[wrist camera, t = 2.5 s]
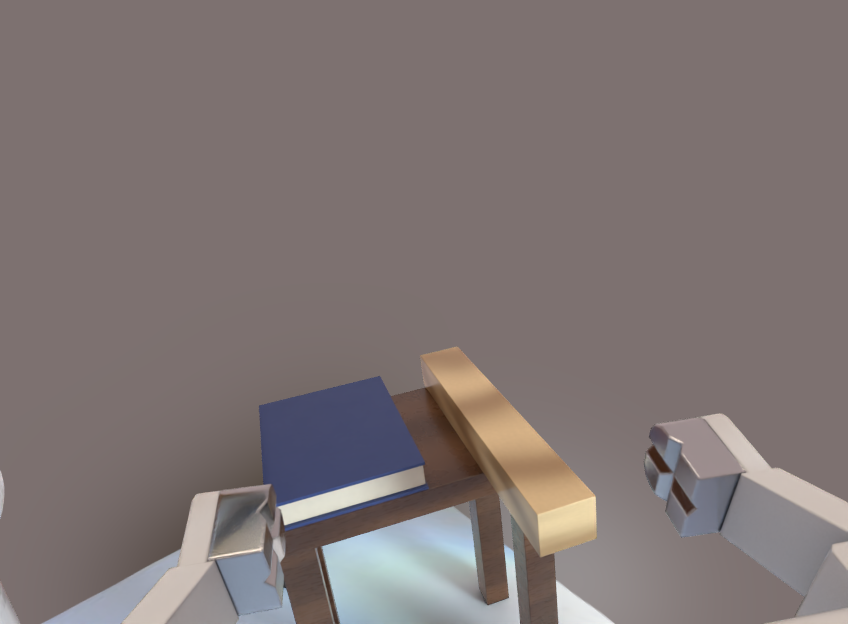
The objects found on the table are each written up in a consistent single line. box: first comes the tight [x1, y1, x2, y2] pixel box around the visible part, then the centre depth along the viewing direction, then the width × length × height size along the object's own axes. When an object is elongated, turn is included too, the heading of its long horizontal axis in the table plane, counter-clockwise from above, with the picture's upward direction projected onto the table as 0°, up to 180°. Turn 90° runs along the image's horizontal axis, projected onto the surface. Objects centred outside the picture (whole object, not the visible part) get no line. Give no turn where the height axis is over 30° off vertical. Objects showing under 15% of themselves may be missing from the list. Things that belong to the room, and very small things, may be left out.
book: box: [259, 376, 429, 531], centre depth 44 cm, size 14×10×2 cm
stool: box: [280, 387, 558, 624], centre depth 50 cm, size 14×20×25 cm
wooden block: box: [420, 347, 597, 557], centre depth 43 cm, size 23×4×3 cm, turn 17°
